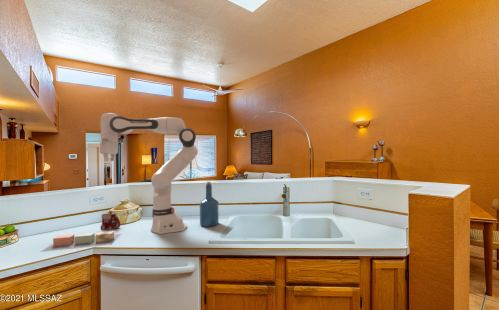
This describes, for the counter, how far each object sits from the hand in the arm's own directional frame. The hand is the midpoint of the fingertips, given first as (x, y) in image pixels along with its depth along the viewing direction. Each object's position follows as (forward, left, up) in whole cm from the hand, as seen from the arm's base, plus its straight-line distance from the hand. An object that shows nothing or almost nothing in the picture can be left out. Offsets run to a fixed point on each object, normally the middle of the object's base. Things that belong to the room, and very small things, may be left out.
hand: (109, 161), depth 139 cm
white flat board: (+8, +13, -46) cm, 49 cm away
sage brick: (+8, +13, -45) cm, 47 cm away
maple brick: (-2, +13, -45) cm, 47 cm away
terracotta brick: (+18, +13, -45) cm, 50 cm away
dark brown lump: (+3, -11, -46) cm, 48 cm away
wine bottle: (-62, -3, -46) cm, 77 cm away
